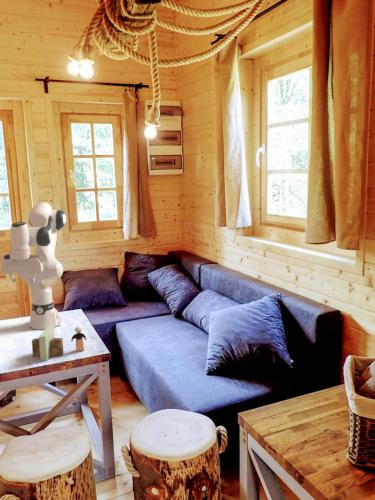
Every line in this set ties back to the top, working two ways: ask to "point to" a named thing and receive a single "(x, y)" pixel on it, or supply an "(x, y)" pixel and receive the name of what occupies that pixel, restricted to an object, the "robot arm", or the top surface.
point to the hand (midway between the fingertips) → (23, 281)
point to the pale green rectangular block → (46, 343)
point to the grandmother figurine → (79, 339)
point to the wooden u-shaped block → (54, 350)
